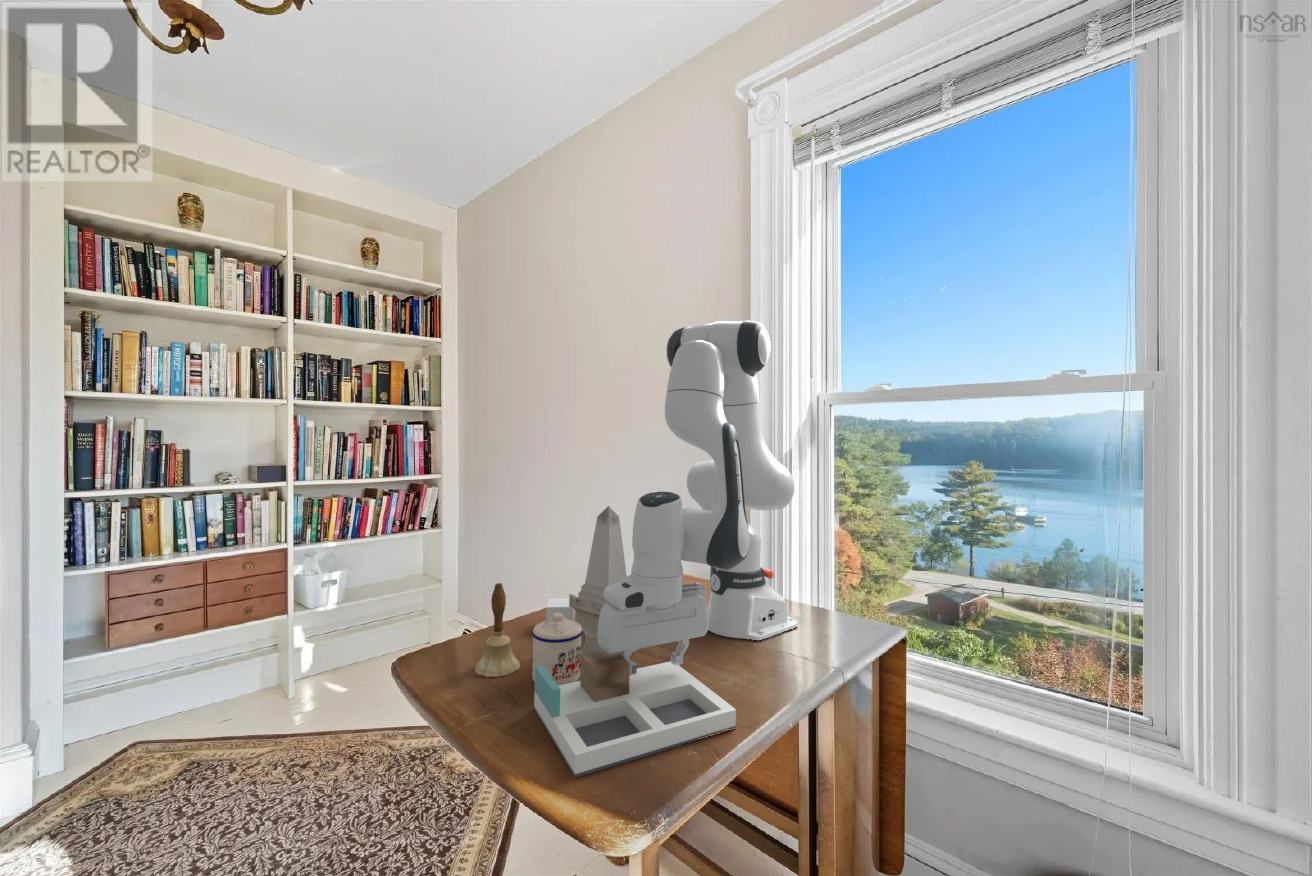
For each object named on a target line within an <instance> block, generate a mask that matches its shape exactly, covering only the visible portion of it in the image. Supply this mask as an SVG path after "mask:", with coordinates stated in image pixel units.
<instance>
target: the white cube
mask: <svg viewBox="0 0 1312 876" xmlns="http://www.w3.org/2000/svg"><path fill="white" fill-rule="evenodd" d="M555 613H562V614H563V615H564V618H566V619H569V620H572V621H575V609H574V608H572V607H569V598H548V599H547V604H546V613H545V614H546V615H545V616H546V617H545V621H547V620H549V619H551V618H553V614H555Z"/></svg>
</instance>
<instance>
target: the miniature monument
mask: <svg viewBox="0 0 1312 876" xmlns="http://www.w3.org/2000/svg"><path fill="white" fill-rule="evenodd" d="M621 530H622V529H621V520H620V515H618V514H617V513H616V511H614V510H613V508H611V507H610V505H607V507H605V509H603V510H602V511H601V513H599V514H598V515H597V517H596V522H595V527H594V533H593V539H592V544H591V547H590V548H591V549H590V553H589V559H588V566H587V570H586V575H585V576H586V577H585V582H584V584H582V585H581V586H580V590H579V592H578V594H577V596H578V597H577V596H576V595H575V594H573V593H572V594H571V593H569V594H568V595H569V596H568V597H569V598H568V599H569V607H572V608H574V610H576V611H575V622H577V623H579V624H580V625H581V627H582V629H583V630H585V631H586V633H587V643H586V646H585V649H584V651H583V652H582V653H581V655H586V654H591V653H596V652H602V651H604V650H603V649H602V648H601V647H600V646H599V644H598V641H597V633H598V623H599V616H600V611H601V609H602V607H603V605H604V604H605V603H606V602H608V601H607V600H606V599H605V598H604V589H605V588H606V587H607V586H609V585H612V584H614V583H616V582H618V581H620V580H622V579H624V578H626V577H628V576H627V575H628V574H627V570H626V569H627V568H626V567H627V566H626V560H625V552H624V546H623V545H624V544H623V539H622V537H623V535H622V531H621ZM637 651H638V649H634V650H632V654H633V653H635V652H637Z"/></svg>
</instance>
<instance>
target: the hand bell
mask: <svg viewBox="0 0 1312 876" xmlns="http://www.w3.org/2000/svg"><path fill="white" fill-rule="evenodd" d="M506 597H507V596H506V593H505V589H504V587H503V583H501V582H499V583H498V582H497V583H495V585H494V589H493V592H492V594H491V610H492V613H493V635H492V636H490V637H488V638H486V640H485V647H484V651H483V654H482V657H481V658H480V660H479V661H477V663H476V665H475V666H474V668H475V671H476V672H477V673H478V674H479V675H483V676H487V677H488V676H489V677H498V678H502V677H501V676H504V677H506V676H505V675H508V676H510V675H512V673H513V674H515V673H516V672H517V671H519V670H520V667H521V663H520V660H519V659H518V658H516V657H515V655H514V652H513V650H512V644H511V642H512V641H511V638H510V636H508V635H505V634H504V627H503V626H504V624H503V623H504V620H503V617H504V612H505V609H506V605H507V604H506V602H507V599H506ZM475 671H474V672H475ZM515 671H516V672H515ZM479 675H478V676H479ZM499 676H500V677H499ZM487 677H486V678H487Z"/></svg>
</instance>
